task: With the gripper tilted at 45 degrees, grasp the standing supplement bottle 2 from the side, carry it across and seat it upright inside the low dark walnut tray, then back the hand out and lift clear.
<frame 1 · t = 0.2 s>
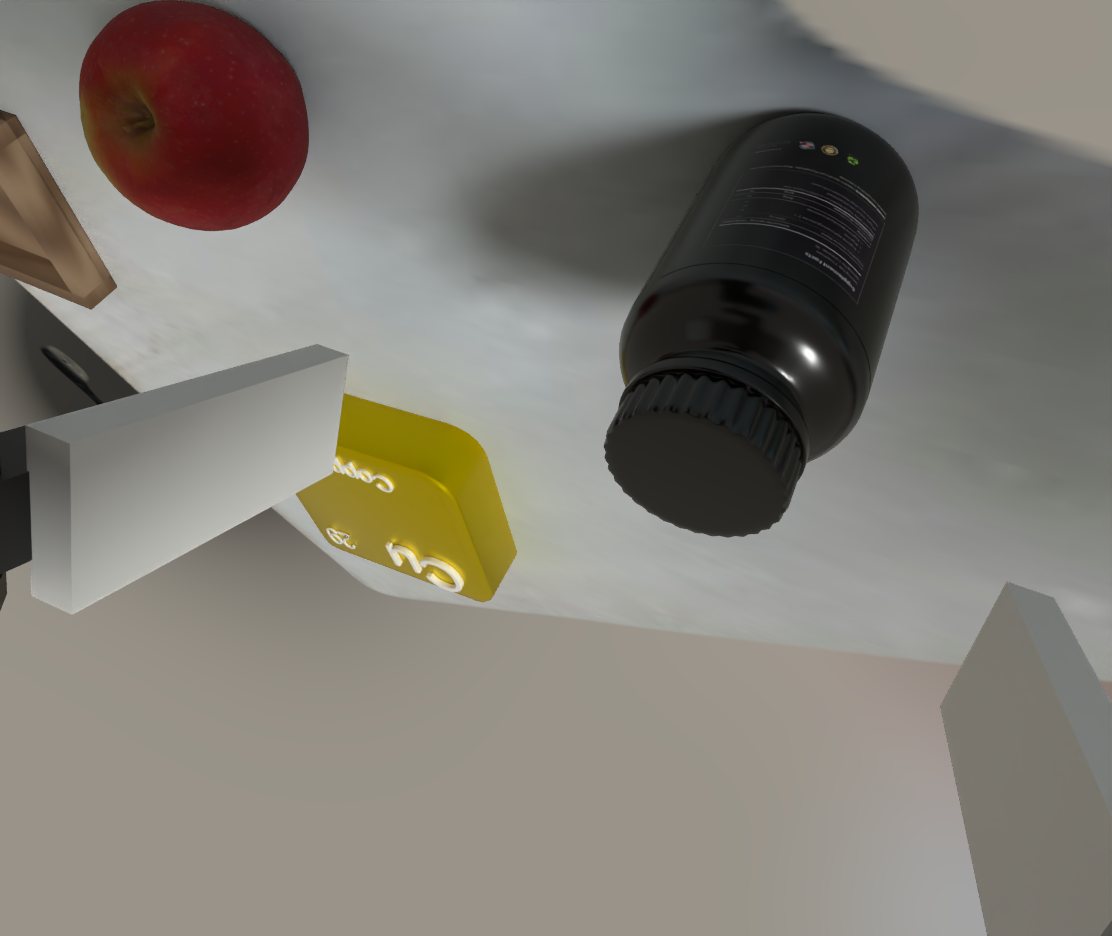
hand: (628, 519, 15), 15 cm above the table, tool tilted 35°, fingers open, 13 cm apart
element tile: (412, 469, 54), on the table
supplement bottle: (813, 201, 26), on the table
apple: (269, 67, 32), on the table
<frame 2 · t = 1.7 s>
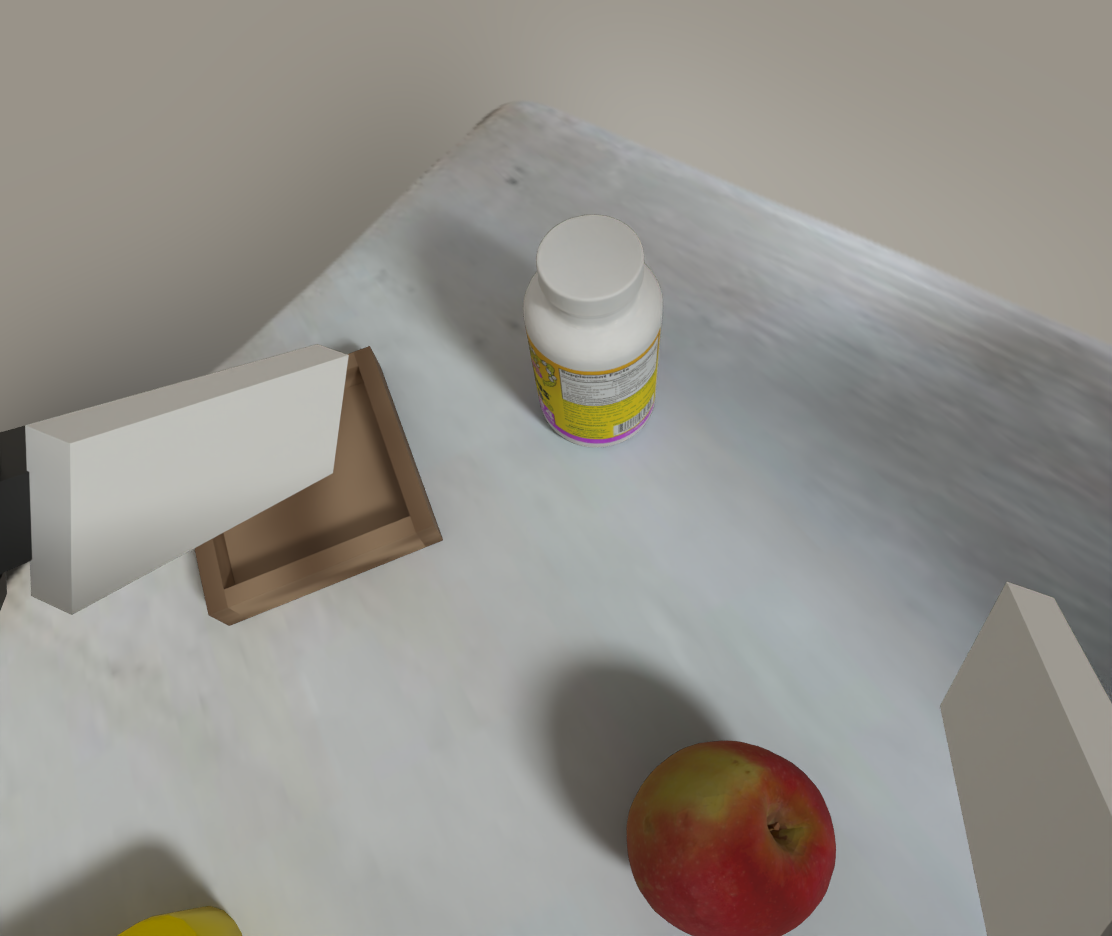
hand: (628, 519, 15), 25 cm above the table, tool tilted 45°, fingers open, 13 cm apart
supplement bottle 2: (597, 402, 46), on the table
walnut tray: (310, 487, 44), on the table
apple: (715, 837, 36), on the table
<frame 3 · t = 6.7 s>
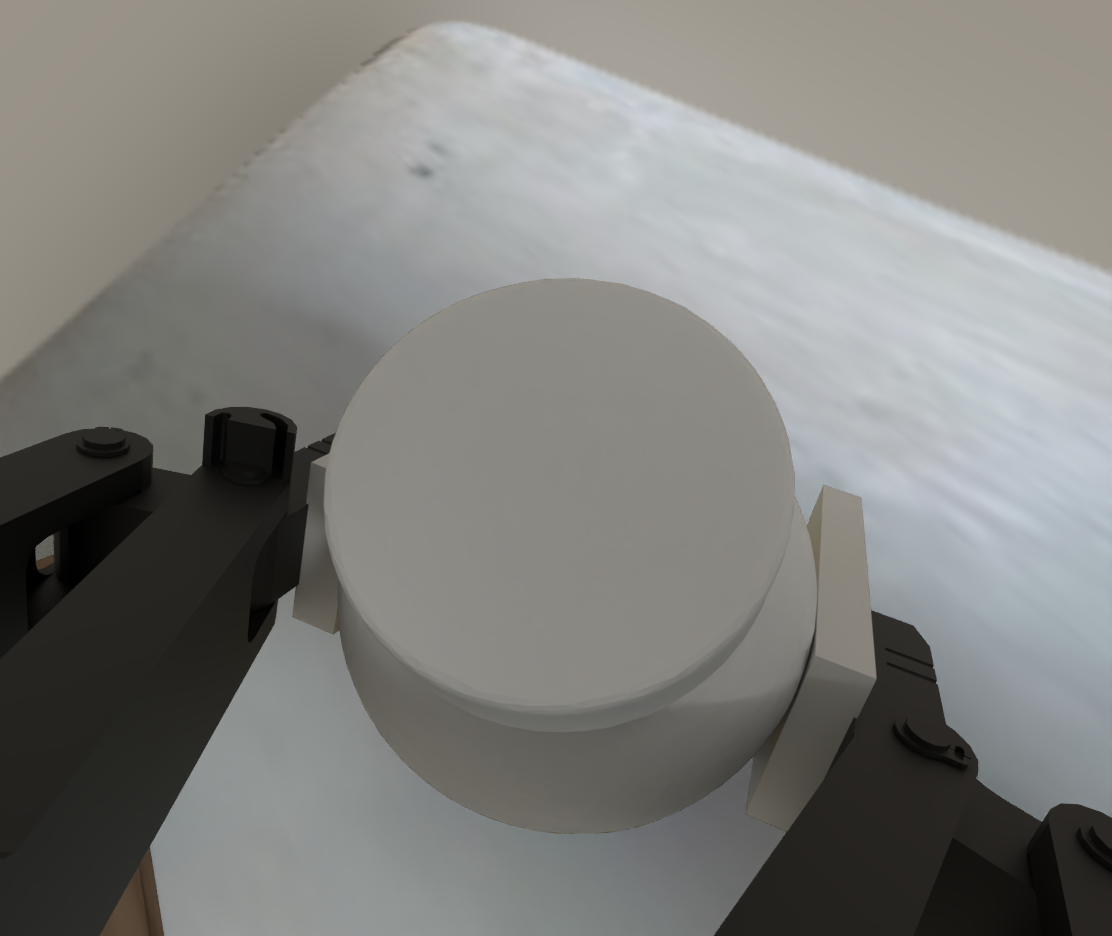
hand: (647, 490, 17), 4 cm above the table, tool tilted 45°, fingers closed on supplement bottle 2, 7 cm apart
supplement bottle 2: (590, 683, 20), on the table, touching gripper
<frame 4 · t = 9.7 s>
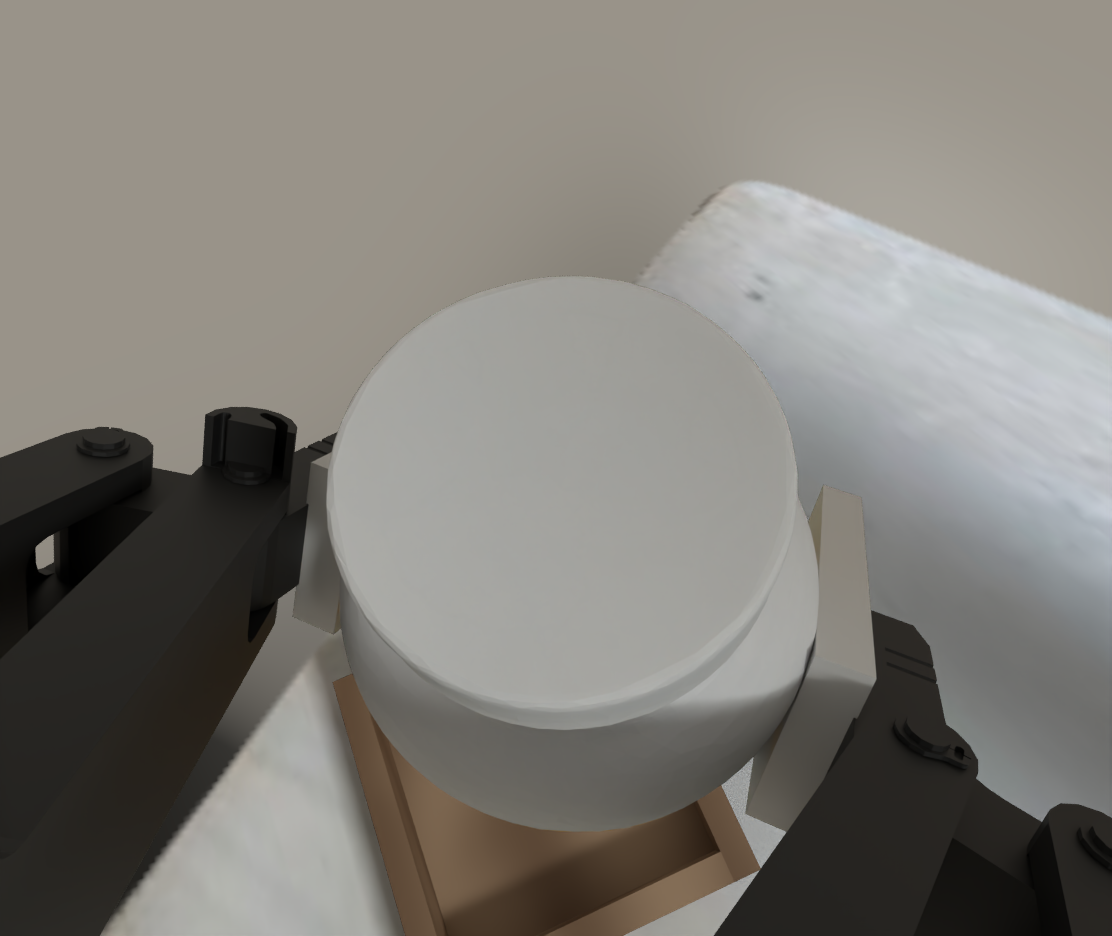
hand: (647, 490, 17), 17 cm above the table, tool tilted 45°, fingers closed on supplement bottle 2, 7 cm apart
supplement bottle 2: (591, 682, 20), point 13 cm above the table, touching gripper
walnut tray: (538, 773, 31), on the table
when the fingers open (6 cm above the table, at t = 12.8 s): supplement bottle 2 drops 1 cm, resting on walnut tray.
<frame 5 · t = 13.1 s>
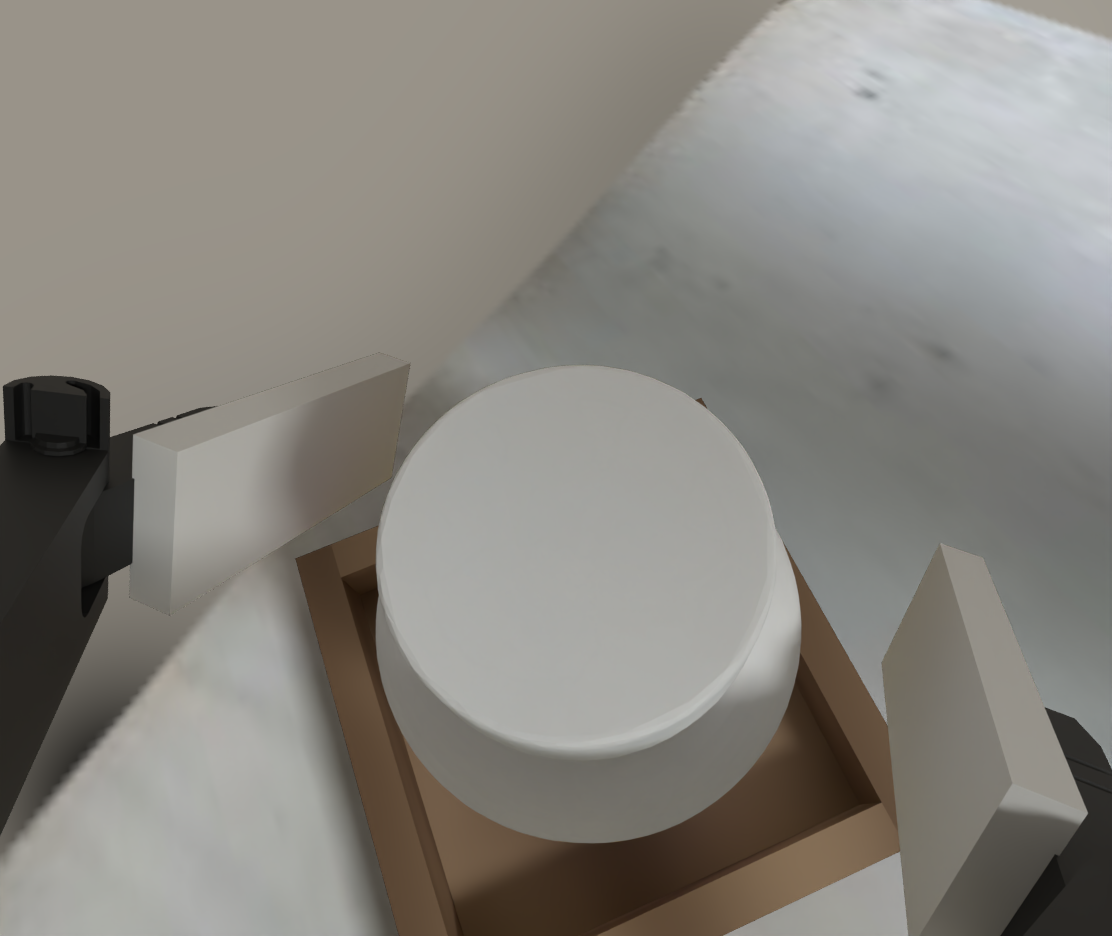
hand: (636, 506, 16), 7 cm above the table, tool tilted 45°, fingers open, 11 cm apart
supplement bottle 2: (597, 696, 21), resting on walnut tray
walnut tray: (592, 695, 21), on the table
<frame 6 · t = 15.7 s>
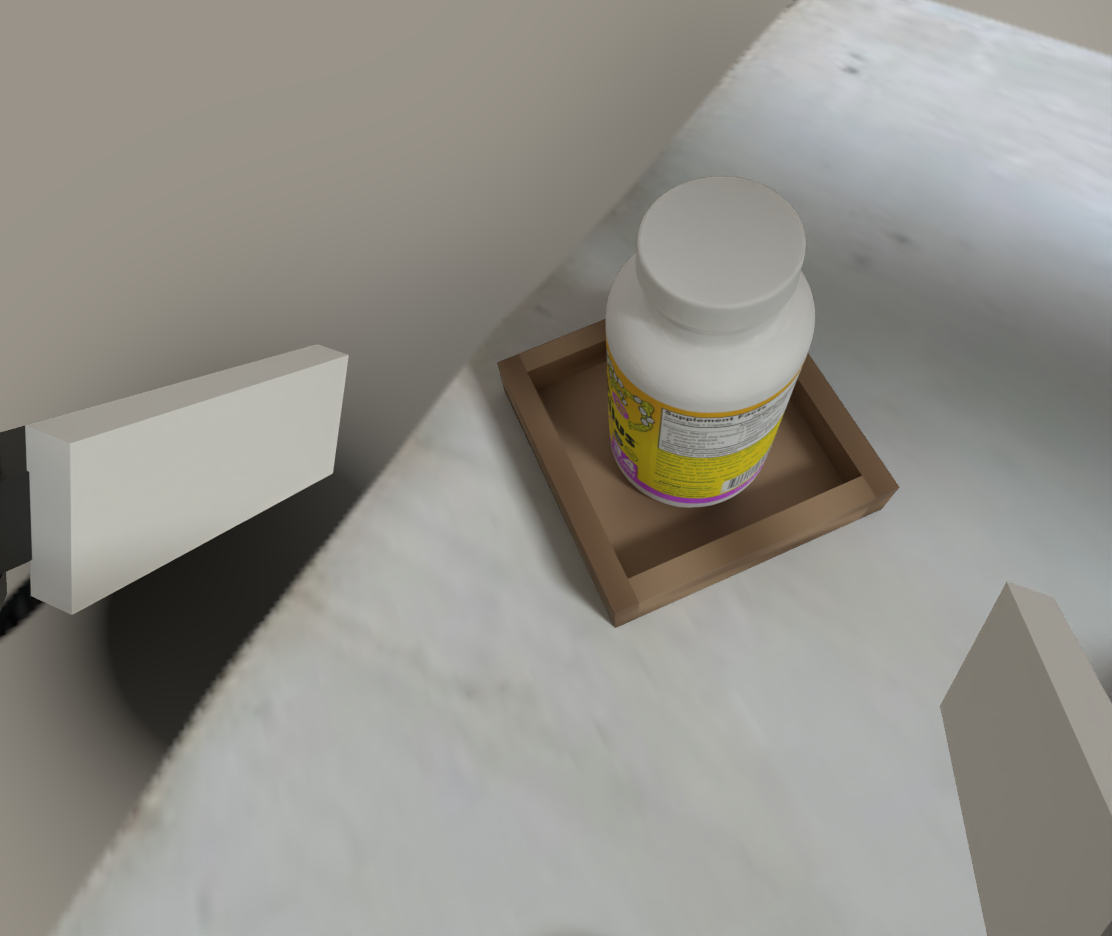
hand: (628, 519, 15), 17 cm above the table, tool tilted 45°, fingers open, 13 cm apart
supplement bottle 2: (686, 443, 34), resting on walnut tray
walnut tray: (682, 446, 34), on the table
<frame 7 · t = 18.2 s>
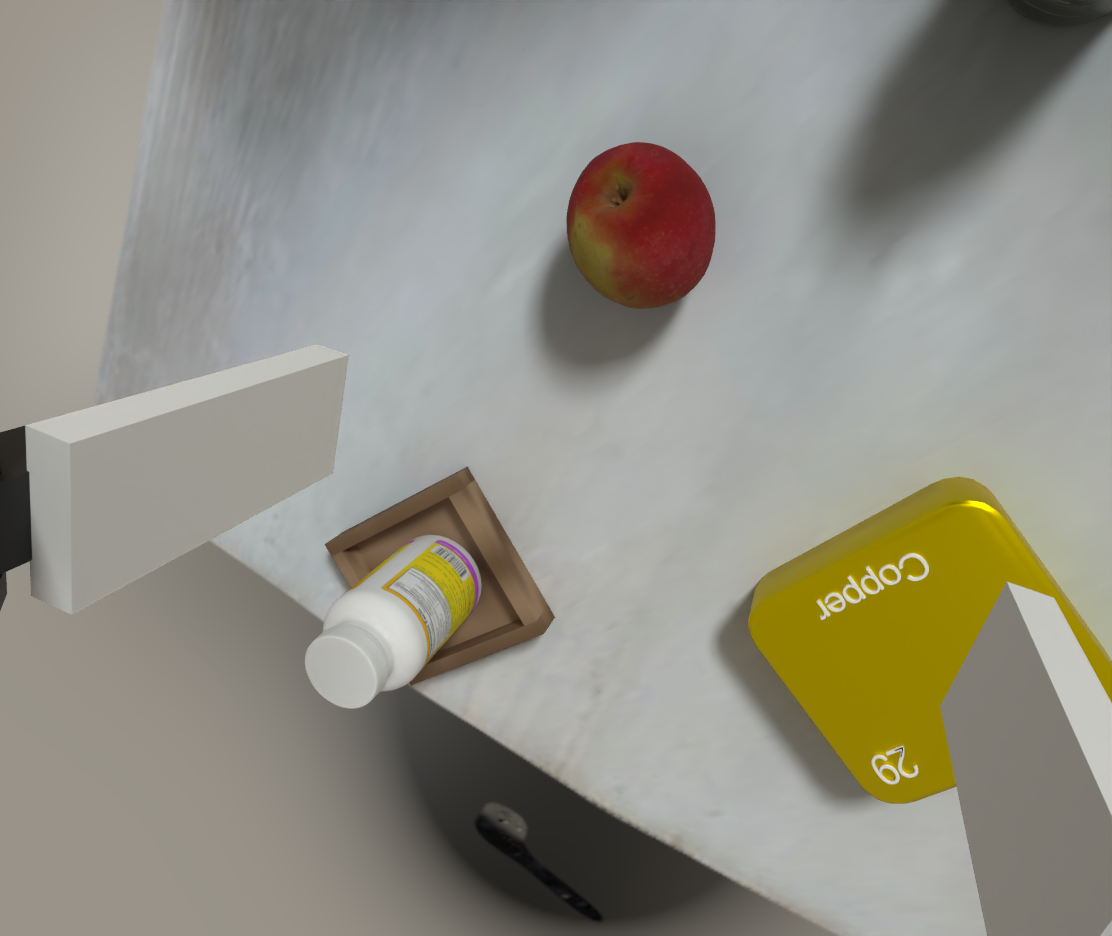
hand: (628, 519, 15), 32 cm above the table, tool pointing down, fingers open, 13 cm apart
supplement bottle 2: (443, 574, 56), resting on walnut tray
element tile: (919, 625, 47), on the table
walnut tray: (445, 573, 56), on the table
apple: (657, 226, 44), on the table
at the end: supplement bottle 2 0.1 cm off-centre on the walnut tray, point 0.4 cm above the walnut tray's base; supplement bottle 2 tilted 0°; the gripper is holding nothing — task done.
